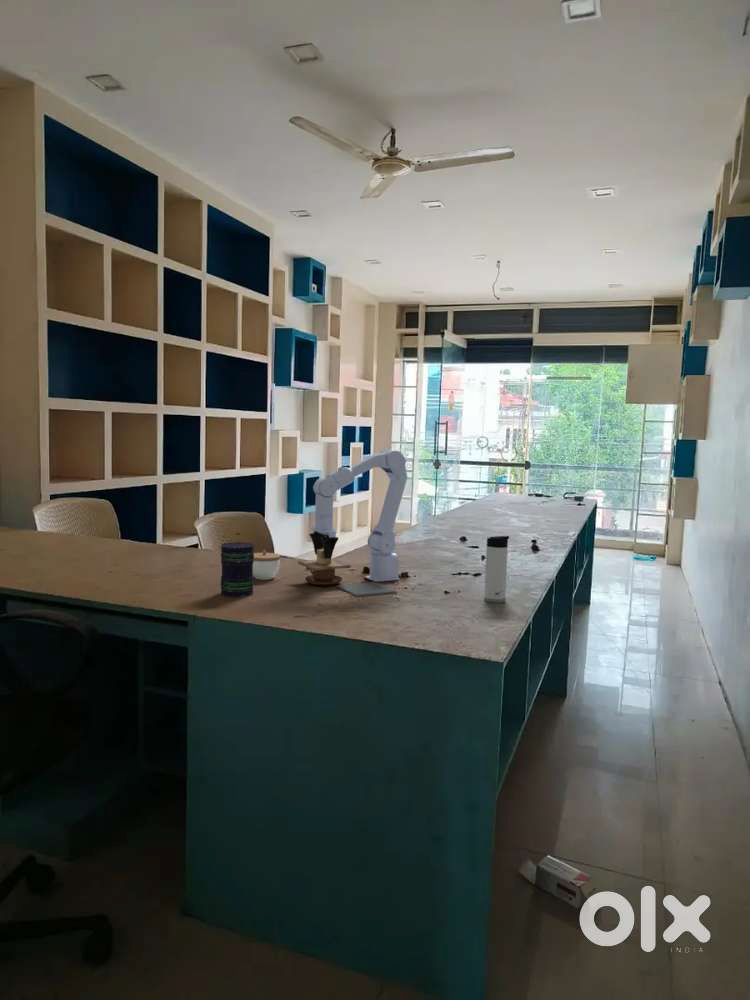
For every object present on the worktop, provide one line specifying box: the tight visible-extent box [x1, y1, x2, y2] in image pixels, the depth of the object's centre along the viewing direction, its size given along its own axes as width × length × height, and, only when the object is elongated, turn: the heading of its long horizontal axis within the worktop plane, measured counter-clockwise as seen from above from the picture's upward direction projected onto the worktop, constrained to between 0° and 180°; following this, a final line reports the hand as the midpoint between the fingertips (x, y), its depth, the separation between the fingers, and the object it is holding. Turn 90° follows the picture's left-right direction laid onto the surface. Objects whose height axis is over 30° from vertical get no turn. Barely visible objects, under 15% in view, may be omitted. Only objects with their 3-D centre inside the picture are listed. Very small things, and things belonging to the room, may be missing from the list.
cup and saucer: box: [305, 569, 343, 587], centre depth 225 cm, size 12×12×6 cm
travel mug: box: [483, 535, 510, 604], centre depth 207 cm, size 6×7×20 cm
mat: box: [336, 581, 398, 598], centre depth 217 cm, size 14×14×1 cm
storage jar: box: [220, 532, 255, 598], centre depth 207 cm, size 10×10×18 cm
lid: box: [297, 549, 351, 571], centre depth 224 cm, size 13×13×5 cm
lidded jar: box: [253, 549, 281, 581], centre depth 231 cm, size 11×11×9 cm
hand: (323, 556), depth 224 cm, fingers open, 7 cm apart
